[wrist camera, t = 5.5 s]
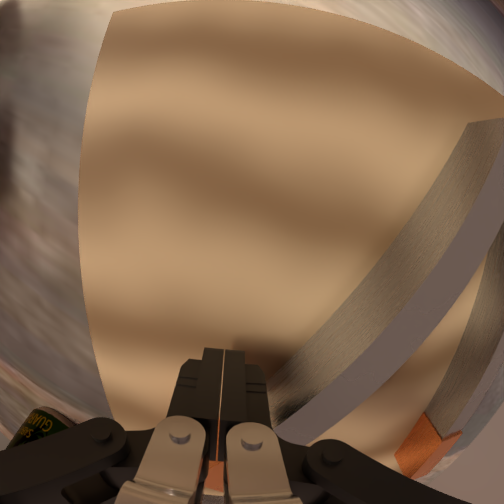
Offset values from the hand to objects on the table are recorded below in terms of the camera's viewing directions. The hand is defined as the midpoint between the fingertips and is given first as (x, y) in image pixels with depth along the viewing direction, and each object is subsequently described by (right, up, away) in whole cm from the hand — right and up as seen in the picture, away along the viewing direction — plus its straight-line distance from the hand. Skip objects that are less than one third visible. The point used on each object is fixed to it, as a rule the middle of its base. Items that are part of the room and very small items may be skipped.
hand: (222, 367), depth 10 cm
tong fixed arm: (+14, -2, +2) cm, 14 cm away
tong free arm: (+7, +2, 0) cm, 7 cm away
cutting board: (+6, 0, +3) cm, 6 cm away
